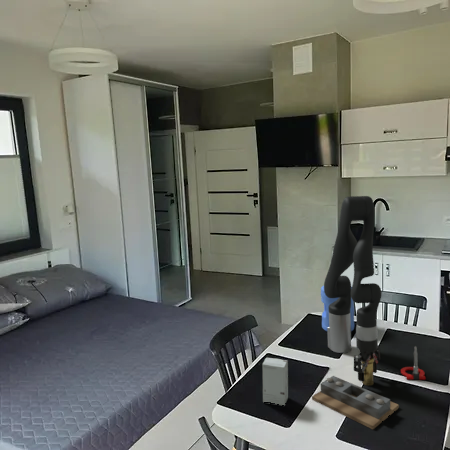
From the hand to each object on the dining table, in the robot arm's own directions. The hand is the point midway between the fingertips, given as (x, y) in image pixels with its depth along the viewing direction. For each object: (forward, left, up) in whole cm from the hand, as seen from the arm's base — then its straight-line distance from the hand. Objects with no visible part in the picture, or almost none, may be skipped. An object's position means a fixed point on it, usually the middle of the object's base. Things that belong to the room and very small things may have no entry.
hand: (367, 376), depth 158 cm
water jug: (-38, +35, -3) cm, 52 cm away
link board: (+4, -15, -3) cm, 16 cm away
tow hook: (+9, +17, -3) cm, 19 cm away
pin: (0, 0, -3) cm, 3 cm away
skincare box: (-17, -32, -3) cm, 36 cm away
